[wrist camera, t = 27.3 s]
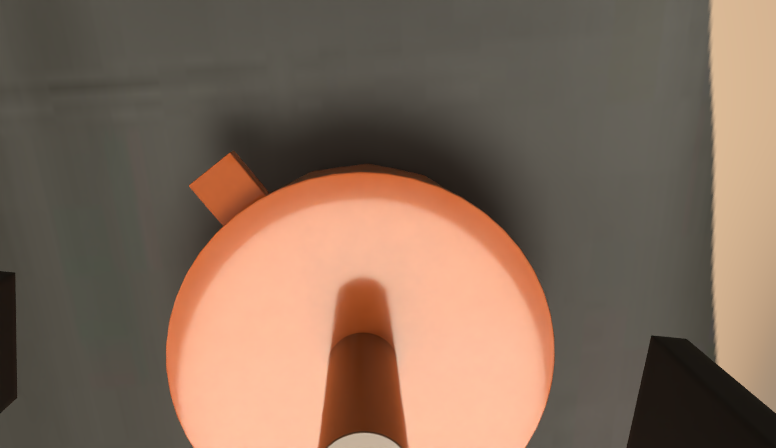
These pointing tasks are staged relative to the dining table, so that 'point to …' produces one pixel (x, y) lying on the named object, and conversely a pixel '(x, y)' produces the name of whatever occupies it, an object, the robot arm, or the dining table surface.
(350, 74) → the dining table surface
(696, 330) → the dining table surface
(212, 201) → the pot
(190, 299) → the pot lid
